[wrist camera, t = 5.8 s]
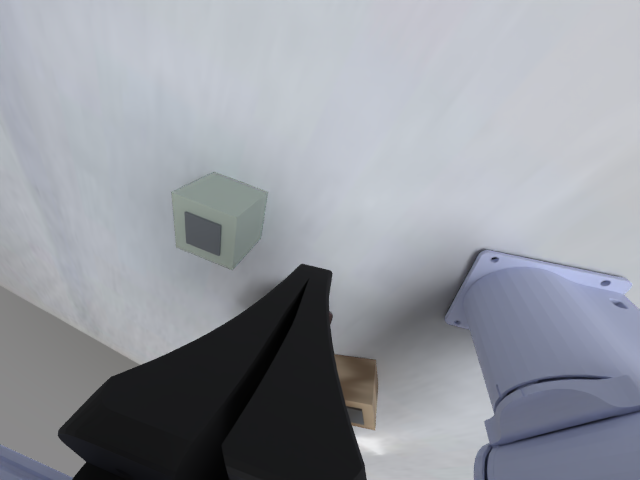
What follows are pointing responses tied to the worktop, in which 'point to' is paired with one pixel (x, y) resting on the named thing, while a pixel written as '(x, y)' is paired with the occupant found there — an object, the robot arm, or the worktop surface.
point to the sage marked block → (218, 218)
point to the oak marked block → (359, 389)
